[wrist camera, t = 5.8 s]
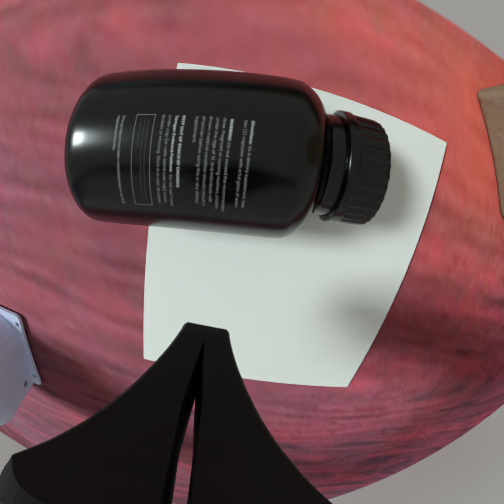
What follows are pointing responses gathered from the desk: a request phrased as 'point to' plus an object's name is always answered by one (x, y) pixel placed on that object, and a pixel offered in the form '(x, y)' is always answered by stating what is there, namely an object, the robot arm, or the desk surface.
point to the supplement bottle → (221, 154)
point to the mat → (297, 273)
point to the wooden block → (495, 131)
